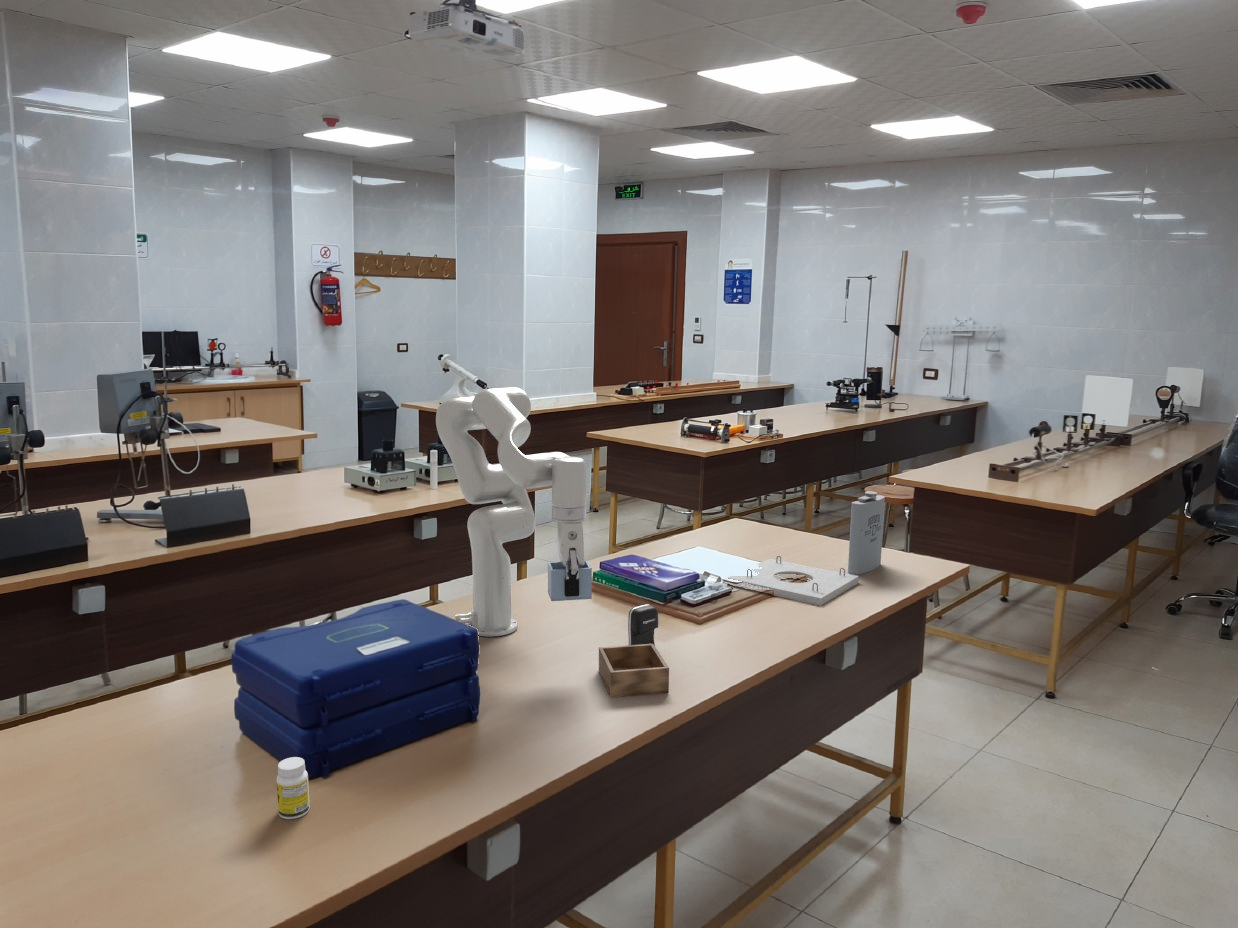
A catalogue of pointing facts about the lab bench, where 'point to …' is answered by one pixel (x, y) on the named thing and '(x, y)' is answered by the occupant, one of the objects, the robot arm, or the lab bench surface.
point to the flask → (866, 533)
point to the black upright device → (642, 624)
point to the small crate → (558, 575)
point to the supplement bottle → (292, 788)
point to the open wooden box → (633, 670)
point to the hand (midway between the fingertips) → (569, 590)
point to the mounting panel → (813, 591)
